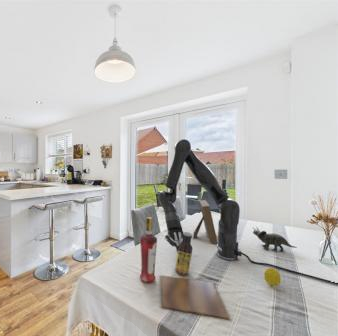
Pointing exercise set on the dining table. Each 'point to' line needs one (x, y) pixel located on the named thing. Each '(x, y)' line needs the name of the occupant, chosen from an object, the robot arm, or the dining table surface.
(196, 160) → the robot arm
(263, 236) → the toy dinosaur
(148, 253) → the liquor
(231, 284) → the dining table surface
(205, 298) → the wooden board
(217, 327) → the dining table surface
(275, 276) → the lemon
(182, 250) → the sauce bottle
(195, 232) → the photo frame
